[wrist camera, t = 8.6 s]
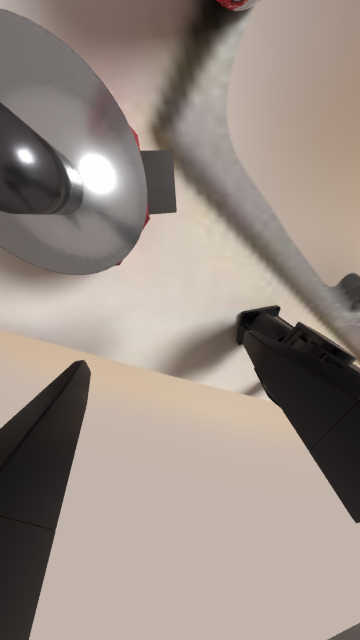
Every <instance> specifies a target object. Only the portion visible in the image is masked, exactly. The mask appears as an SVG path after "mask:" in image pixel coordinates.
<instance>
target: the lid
mask: <svg viewBox="0 0 360 640" xmlns="http://www.w3.org/2000/svg"><path fill="white" fill-rule="evenodd" d="M146 210H147V186H146V177H145V172H144V166H143V162H142V159H141V155H140V152H139V148H138V146H137V143H136V141H135V138H134V135H133V133H132V130H131V128H130V126H129V124H128V122H127V120H126V118H125V116H124V114H123V112H122V111H121V109H120V107H119V106H118V104H117V102H116V101H115V99H114V97H113V96H112V94H111V93H110V92H109V90H108V89H107V88H106V86H105V85H104V84H103V82H102V81H101V79H100V78H99V77H98V76H97V75H96V74H95V72H94V71H93V70H92V69H91V68H90V67H89V66H88V64H87V63H86V62H85V61H84V60H83V59H82V58H81V57H80V56H79V55H78V54H76V53H75V52H74V51H73V50H72V49H71V48H70V47H69V46H68V45H67V44H65V43H64V42H63V41H61V40H60V39H59V38H57V37H56V36H55V35H53V34H52V33H51V32H49V31H48V30H46V29H45V28H43V27H41V26H39V25H38V24H36V23H34V22H32V21H31V20H29V19H27V18H25V17H22V16H20V15H17V14H15V13H12V12H10V11H7V10H3V9H0V247H2V248H3V249H5V250H6V251H8V252H9V253H11V254H13V255H15V256H16V257H18V258H20V259H22V260H24V261H26V262H28V263H30V264H32V265H35V266H37V267H40V268H43V269H46V270H49V271H53V272H57V273H63V274H71V275H85V274H93V273H98V272H101V271H104V270H107V269H109V268H111V267H113V266H115V265H116V264H118V263H119V262H120V261H122V260H123V259H124V258H125V257H126V256H127V255H128V254H129V253H130V252H131V250H132V249H133V248H134V246H135V244H136V243H137V241H138V239H139V237H140V234H141V232H142V229H143V226H144V222H145V217H146Z"/></svg>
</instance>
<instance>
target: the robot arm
mask: <svg viewBox="0 0 360 640" xmlns="http://www.w3.org/2000/svg"><path fill="white" fill-rule="evenodd" d="M279 311H280V307H279V306H271V307H266V308H261V309H255V310H250V311H245V312H243V313H242V315H241V320H240V326H239V330H238V336H237V343H238V345H241V344H243V345H244V347H245V349H246V351H247V353H248V355H249V357H250V359H251V361H252V363H253V365H254V367H255V368H254V370H255V372H256V374H257V376H258V378H259V380H260V382H261V384H262V386H263V388H264V390H265V392H266V394H267V396H268V397H269V398H270V399H271V400H272V401H273V402H274V403H275V404H276V405H278V406H279V407H280V408H281V409H282V410H283V412H284V413H285V415H286V416H287V418H288V419H289V421H290V423H291V424H292V426H293V427H294V429H295V430H296V432H297V433H298V435H299V436H300V438H301V439H302V441H303V442H304V444H305V446H306V447H307V449H308V450H309V452H310V454H311V455H312V457H313V458H314V460H315V461H316V463H317V464H318V466H319V468H320V469H321V471H322V472H323V474H324V475H325V477H326V478H327V480H328V482H329V483H330V485H331V486H332V488H333V489H334V491H335V492H336V494H337V495H338V497H339V498H340V500H341V501H342V503H343V505H344V506H345V508H346V509H347V511H348V512H349V514H350V515H351V517H352V518H353V520H354V521H355V522H356V523H360V368H359V367H357V366H356V365H354V364H353V362H355V361H356V360H357V358H356V357H354V356H353V355H352V354H350V353H349V352H347V351H346V350H345V349H343V348H342V347H340V346H339V345H338V344H336V343H335V342H333V341H332V340H330V339H328V338H327V337H325V336H324V335H322V334H320V333H319V332H317V331H315V330H314V329H312V328H310V327H308V326H306V325H304V324H302V323H301V322H298V323H297V324H296V326H295V327H293V326H292V325H290V324H289V323H287V322H286V321H285V320H283V319H282V318H280V317H279V316H278V314H279ZM245 314H246V315H245ZM90 376H91V372H90V369H89V367H88V365H87V363H86V362H85V361H84V360H80V361H75V362H74V363H73V364H71V365H70V366H69V367H68V368H67V369H66V370H65V371H64V372H63V373H62V374H60V375H59V376H58V377H57V378H56V379H55V380H54V381H53V382H52V383H50V384H49V385H48V386H47V387H46V388H45V389H44V390H43V391H42V392H41V393H39V394H38V395H37V396H36V397H35V398H34V399H33V400H32V401H30V402H29V403H28V404H27V405H26V406H25V407H24V408H23V409H22V410H20V411H19V412H18V413H17V414H16V415H15V416H14V417H13V418H12V419H11V420H9V421H8V422H7V423H6V424H5V425H4V426H3V427H2V428H1V429H0V640H29V637H30V632H31V628H32V624H33V620H34V616H35V612H36V608H37V604H38V600H39V596H40V592H41V588H42V584H43V580H44V576H45V572H46V568H47V564H48V560H49V556H50V551H51V548H52V544H53V539H54V535H55V530H56V527H57V522H58V519H59V515H60V511H61V507H62V502H63V498H64V494H65V490H66V486H67V482H68V478H69V474H70V470H71V466H72V462H73V458H74V454H75V450H76V446H77V442H78V438H79V434H80V430H81V426H82V422H83V417H84V414H85V410H86V405H87V399H88V392H89V384H90ZM328 640H360V623H359V624H357V625H355V626H353V627H351V628H349V629H347V630H345V631H343V632H341V633H339V634H338V635H336V636H334V637H332V638H330V639H328Z"/></svg>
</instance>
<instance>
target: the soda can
mask: <svg viewBox="0 0 360 640" xmlns="http://www.w3.org/2000/svg"><path fill="white" fill-rule="evenodd" d="M216 1H217V2H218V3H220V4H221V5H222V6H223V7H225V8H227V9H229V10H234V11H242V10H246V9H248V8H250V7H253V6H254V5H255V4H256V3H258V2H259V1H260V0H216Z"/></svg>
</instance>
